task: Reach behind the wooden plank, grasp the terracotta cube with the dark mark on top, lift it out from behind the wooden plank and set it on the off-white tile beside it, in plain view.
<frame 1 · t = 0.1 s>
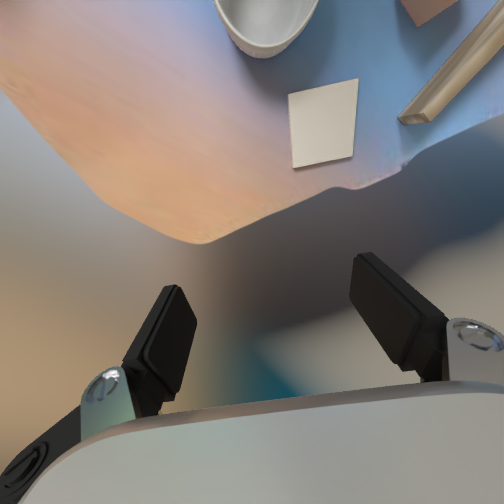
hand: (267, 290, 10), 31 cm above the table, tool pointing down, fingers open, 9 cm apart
wooden plank: (464, 48, 28), on the table
display tile: (320, 127, 33), on the table
ramekin: (262, 3, 25), on the table
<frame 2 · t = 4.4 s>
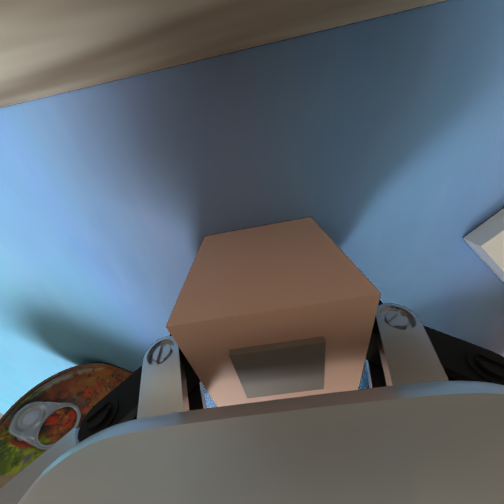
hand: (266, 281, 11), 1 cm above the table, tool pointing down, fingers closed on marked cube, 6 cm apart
wooden plank: (218, 12, 6), on the table
marked cube: (264, 269, 12), on the table, touching gripper
tin: (142, 381, 19), on the table
when the fingers open (3 cm above the table, at t = 11.3 s): marked cube drops 1 cm, resting on display tile.
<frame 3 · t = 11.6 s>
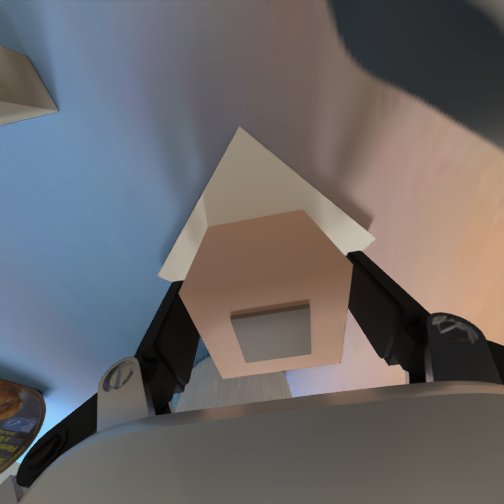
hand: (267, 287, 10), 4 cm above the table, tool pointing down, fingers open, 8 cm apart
marked cube: (262, 258, 13), point 1 cm above the table, touching display tile
display tile: (261, 250, 14), on the table
ramekin: (237, 372, 23), on the table
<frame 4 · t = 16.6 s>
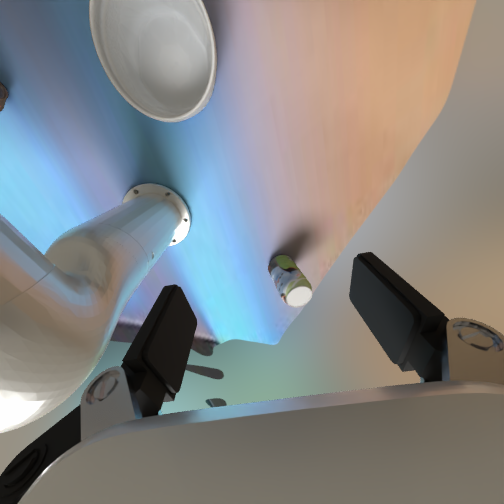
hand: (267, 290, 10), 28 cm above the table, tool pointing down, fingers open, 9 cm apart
beverage can: (282, 262, 44), on the table
ramekin: (175, 70, 26), on the table
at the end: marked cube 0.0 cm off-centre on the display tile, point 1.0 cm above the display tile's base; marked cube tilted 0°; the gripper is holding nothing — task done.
